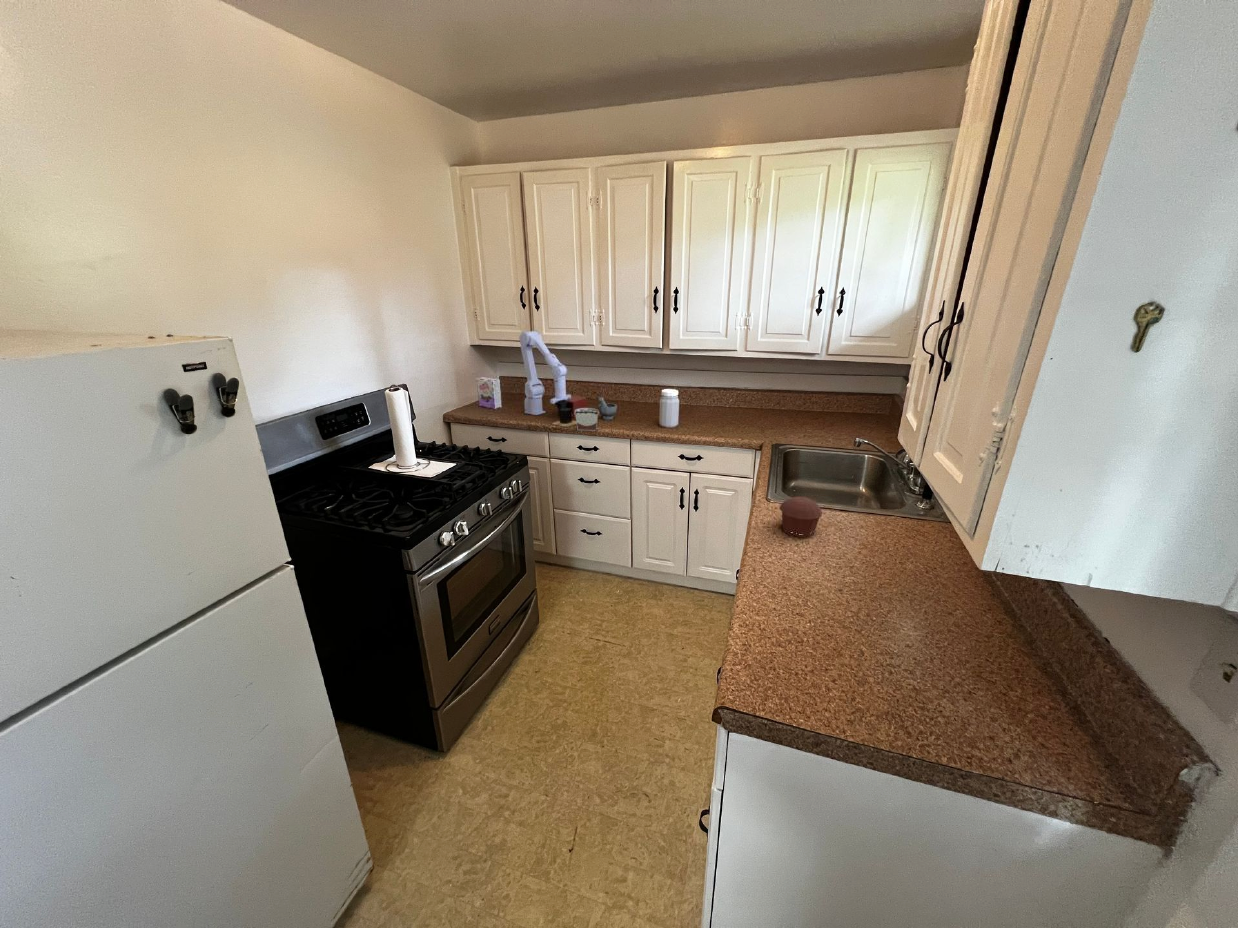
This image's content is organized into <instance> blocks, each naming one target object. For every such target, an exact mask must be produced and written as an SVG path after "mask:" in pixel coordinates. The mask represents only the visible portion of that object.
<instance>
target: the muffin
mask: <svg viewBox="0 0 1238 928" xmlns="http://www.w3.org/2000/svg"><path fill="white" fill-rule="evenodd" d="M779 510H780V511H781V525H782V531H783V532H785V533H786V534H788V535H789V536H791V537H797V538H798V539H799V538H810V537H811V536H813V535H814V534H815V531H816V528H817V526H818V523H819V520H820V518H821V517H822V514H823V511H822V508H821V507H820V506H819V504H817V502H815V501H814V500H812V499H810V498H808V497H805V496H793V497H790V498H788V499H786V500H784V501H782V503H781V504H780V505H779ZM813 531H814V532H813ZM791 532H793V533H791ZM811 532H812V533H811ZM796 533H797V534H796ZM810 533H811V534H810ZM799 534H803V535H799Z"/></svg>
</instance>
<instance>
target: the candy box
mask: <svg viewBox="0 0 1238 928" xmlns="http://www.w3.org/2000/svg"><path fill="white" fill-rule="evenodd" d="M475 379H476V380H475V381H476V389H477V399H478V406H479V407H483V408H487V409H493V410H497V409H501V408H503V405H502V394H501V393H502V391H501V380H500V379H498V378H491V377H487V376H486V377H485V376H481V377H476V378H475Z"/></svg>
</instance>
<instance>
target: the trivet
mask: <svg viewBox="0 0 1238 928" xmlns="http://www.w3.org/2000/svg"><path fill="white" fill-rule="evenodd" d="M551 425H554V426H558V427H559V426H560V427H564V428H570V427H572V426H575V425H577V422H576V420H574V419H572V422H571V423H568V424H564V423H560V420H557V421H555V422H552V423H551Z"/></svg>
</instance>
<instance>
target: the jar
mask: <svg viewBox="0 0 1238 928" xmlns="http://www.w3.org/2000/svg"><path fill="white" fill-rule="evenodd" d="M678 395H679V390H678V389H674V388H664V389H662V390H661V397H660V399H659V420H658V421H659V422H658V424H659V425H660V427H662V428H666V429H671V428H676V427H677V426H678V425H679V414H680V412H679V411H680V399H679V396H678Z"/></svg>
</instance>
